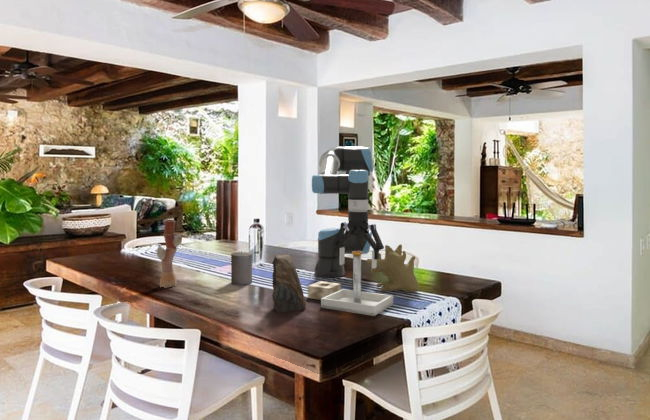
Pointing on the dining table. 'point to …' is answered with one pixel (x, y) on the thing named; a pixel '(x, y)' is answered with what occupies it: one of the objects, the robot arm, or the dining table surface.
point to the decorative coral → (396, 270)
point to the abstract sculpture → (168, 254)
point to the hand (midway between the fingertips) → (357, 266)
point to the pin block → (322, 289)
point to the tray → (368, 306)
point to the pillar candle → (241, 268)
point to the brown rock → (286, 285)
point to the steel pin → (357, 276)
